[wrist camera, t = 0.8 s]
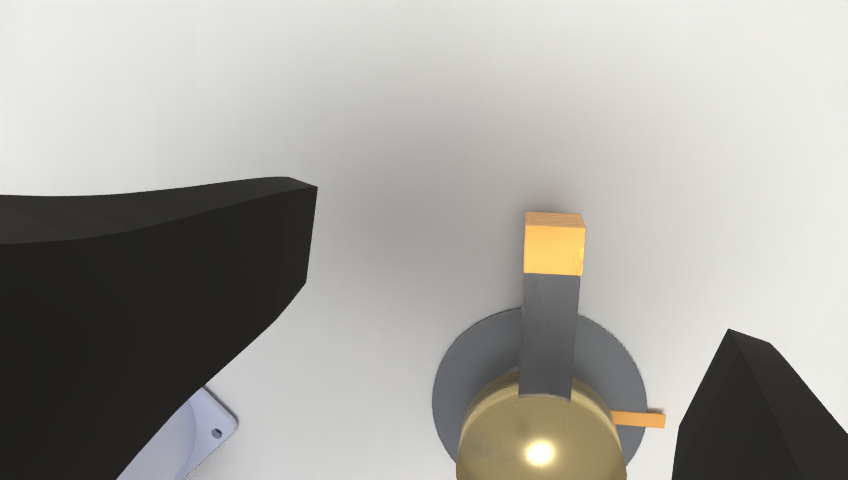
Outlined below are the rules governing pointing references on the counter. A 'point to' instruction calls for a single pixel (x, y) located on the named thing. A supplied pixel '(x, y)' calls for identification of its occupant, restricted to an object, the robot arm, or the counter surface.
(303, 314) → the counter surface
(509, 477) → the collar
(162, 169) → the counter surface
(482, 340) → the post base
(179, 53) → the counter surface
